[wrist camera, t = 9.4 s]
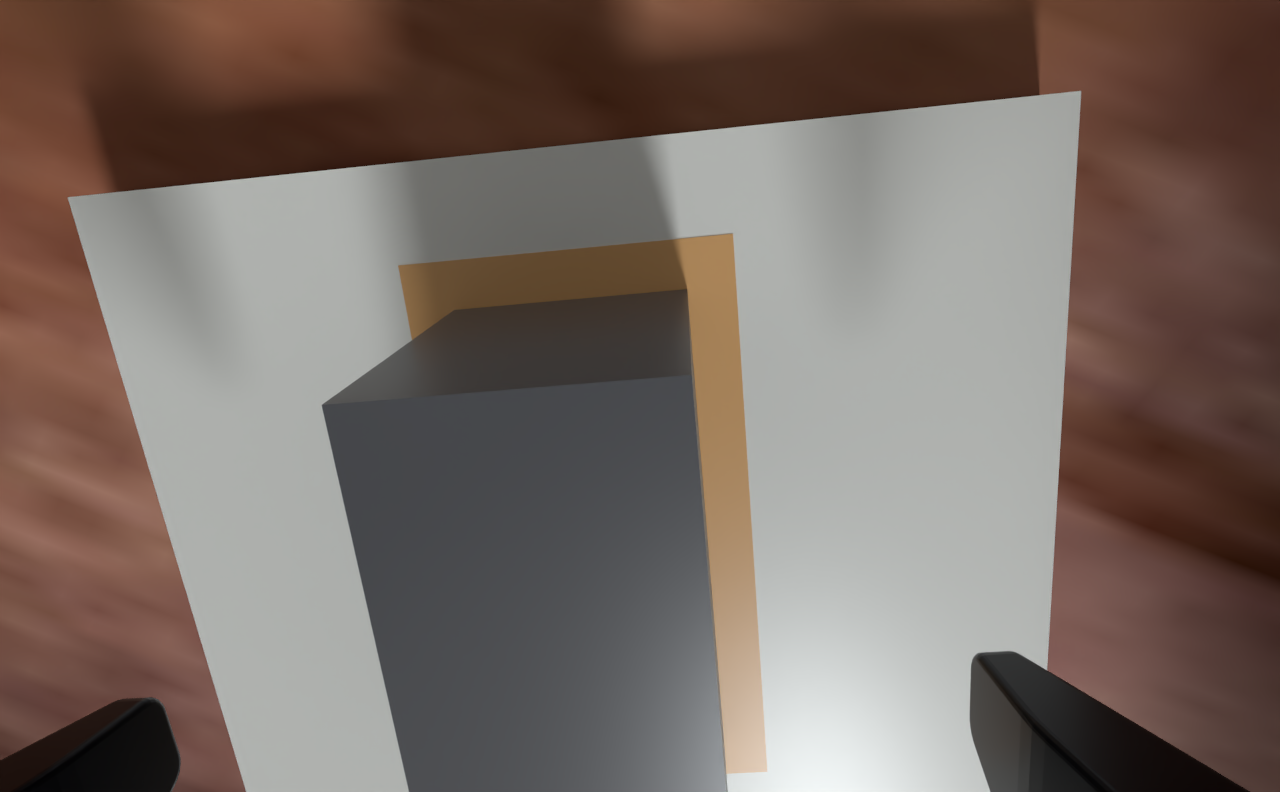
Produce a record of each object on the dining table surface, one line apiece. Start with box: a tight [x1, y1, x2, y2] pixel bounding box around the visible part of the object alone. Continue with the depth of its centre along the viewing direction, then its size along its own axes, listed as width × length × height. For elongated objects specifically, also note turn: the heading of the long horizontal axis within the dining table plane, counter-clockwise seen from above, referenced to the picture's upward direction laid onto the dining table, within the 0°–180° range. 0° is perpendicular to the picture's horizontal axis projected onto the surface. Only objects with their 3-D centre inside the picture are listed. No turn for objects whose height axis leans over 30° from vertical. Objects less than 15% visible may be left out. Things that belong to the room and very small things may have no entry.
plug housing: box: [322, 289, 728, 792], centre depth 10 cm, size 8×3×4 cm, turn 6°
